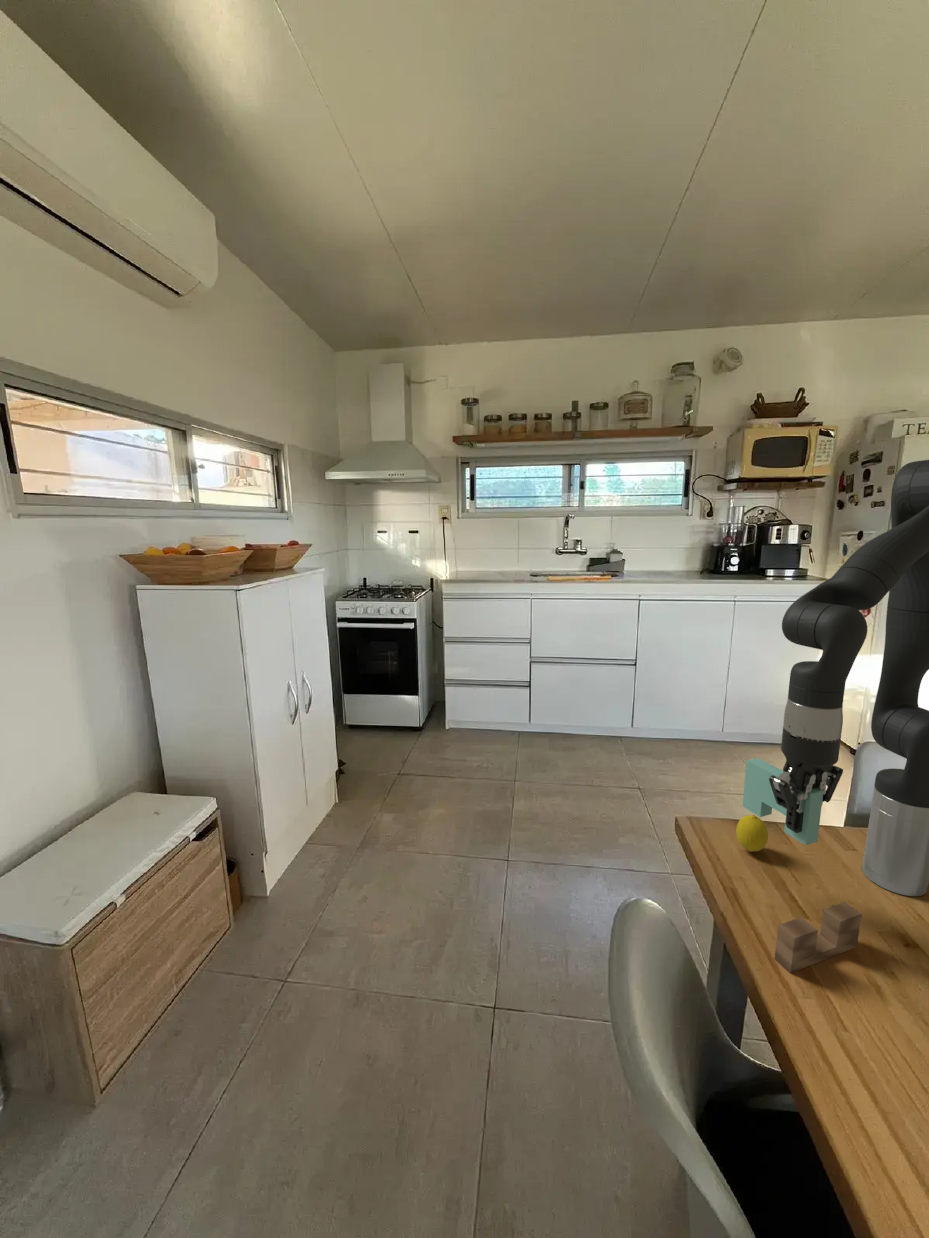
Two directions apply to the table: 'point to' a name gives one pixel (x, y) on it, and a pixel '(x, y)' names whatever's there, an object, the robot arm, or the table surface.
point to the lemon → (752, 833)
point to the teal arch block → (763, 800)
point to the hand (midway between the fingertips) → (800, 827)
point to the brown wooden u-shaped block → (817, 937)
